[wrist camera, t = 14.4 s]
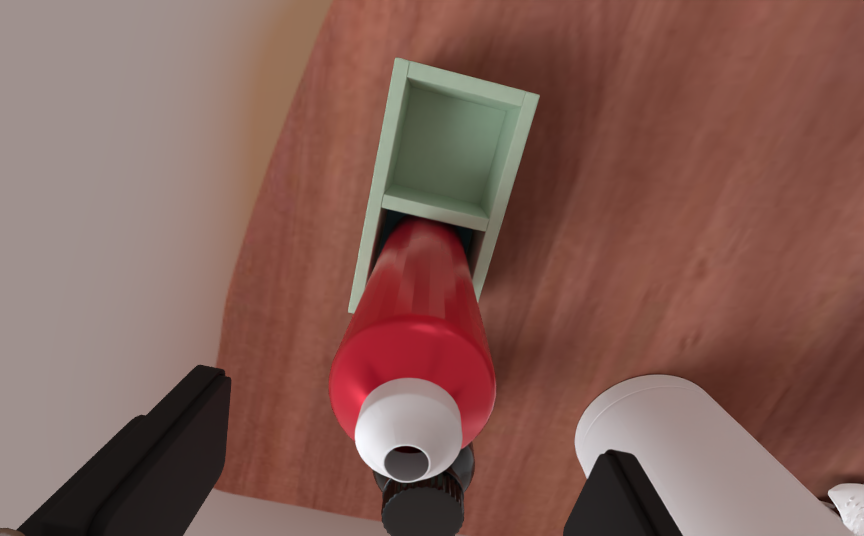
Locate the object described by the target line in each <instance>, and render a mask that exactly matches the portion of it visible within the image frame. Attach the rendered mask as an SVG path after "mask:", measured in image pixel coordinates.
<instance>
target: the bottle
mask: <svg viewBox="0 0 864 536" xmlns="http://www.w3.org/2000/svg"><path fill="white" fill-rule="evenodd" d="M496 393H497V386H496V374H495V370H494V366H493V362H492V358H491V354H490V350H489V346H488V342H487V338H486V334H485V330H484V326H483V322H482V318H481V315H480V311H479V307H478V303H477V299H476V295H475V291H474V287H473V283H472V279H471V275H470V271H469V267H468V263H467V259H466V255H465V251H464V247H463V243H462V239H461V236H460V233H459V231H458V229H457V227H456V226H455V225H454V224H450V223H445V222H441V221H437V220H433V219H428V218H424V217H420V216H416V215H411V214H407V215H405V216H404V217H402V218H401V219H400V220H399V221H397V223H396V224H395V225H394V226H393V228H392V230H391V232H390V234H389V236H388V238H387V240H386V243H385V245H384V247H383V249H382V252H381V254H380V256H379V258H378V261H377V263H376V265H375V267H374V270H373V272H372V274H371V276H370V279H369V281H368V283H367V285H366V288H365V290H364V292H363V294H362V297H361V299H360V301H359V303H358V306H357V308H356V310H355V312H354V315H353V317H352V319H351V321H350V324H349V326H348V328H347V330H346V333H345V335H344V337H343V339H342V342H341V344H340V346H339V348H338V351H337V353H336V355H335V357H334V360H333V362H332V366H331V370H330V374H329V397H330V402H331V406H332V410H333V412H334V414H335V416H336V418H337V421H338V423H339V424H340V426H341V427H342V428H343V430H344V431H345V432H346V434H347V435H348V436H349V437H350V438H351V439H352V440H353V441H354V442H355V443H356V447H357V449H358V452H359V454H360V456H361V457H362V458H363V460H364V461H365V462H366V463H367V464H368V465H369V466H370V467H371V468H372V469H373V470H375V471H377V472H378V473H380V474H382V475H384V476H386V477H389V478H392V479H394V480H396V481H399V482H405V483H409V482H415V481H418V480H423V479H427V478H430V477H433V476H435V475H438V474H439V473H441V472H442V471H444V470H446V469H447V468H448V467H449V466H450V465H451V464H452V463H453V462H454V460H455V459H456V457H457V456H458V454H459V451H460V450H461V449H463V448H464V447H466V446H467V445H469V444H470V443H471V442H472V441H473V440H474V439H475V438H476V437H477V436H478V435H479V434H480V432H481V431H482V430H483V428H484V427H485V425H486V424H487V422H488V420H489V418H490V416H491V413H492V411H493V408H494V404H495V399H496Z"/></svg>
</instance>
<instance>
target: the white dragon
mask: <svg viewBox="0 0 864 536" xmlns="http://www.w3.org/2000/svg"><path fill="white" fill-rule="evenodd" d="M834 490H837V491H834ZM828 495H829V497H830V498H831V500H832V501H833V503H834V504H835V505H836V507H837V509H838V510H839V512H840V515H841V517H842V519H841V518H840V517H839V516H838V515H837V514H836V513H835V512H834V511H833V510H832V509H830V508H835V505H833V504H830V503H827V502H823V501H820V502H821V503H822V504H823V505H824V506H825V507H826V508H828V509H829V510H830V511H831V512H832V513H833V514H834V515H835V516H836V517H837V518H838V519H839V520H840V521H841V522H842V520H843V522H842V523H843V524H844V525H845V526H846V527H847V528H848V529H850V530H851V531H852V532H853V533H854V534H855V535H856V536H864V485H863V484H852V483H846V484H839V485H837V486H835V487H833V488H832V489H830V490H829V492H828Z"/></svg>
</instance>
